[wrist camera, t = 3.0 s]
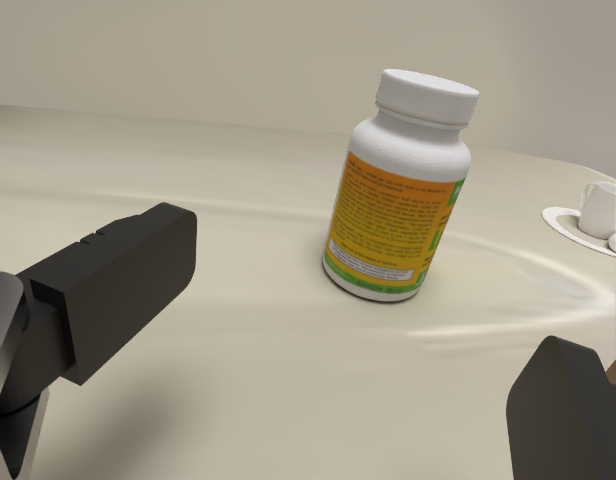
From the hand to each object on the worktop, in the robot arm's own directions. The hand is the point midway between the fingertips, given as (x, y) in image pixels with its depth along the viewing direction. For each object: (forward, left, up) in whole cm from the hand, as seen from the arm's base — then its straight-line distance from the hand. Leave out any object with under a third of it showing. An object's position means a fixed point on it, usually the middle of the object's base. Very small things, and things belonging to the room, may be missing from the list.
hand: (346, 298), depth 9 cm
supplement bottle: (+6, +9, -6) cm, 12 cm away
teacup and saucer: (+25, +13, -7) cm, 29 cm away
